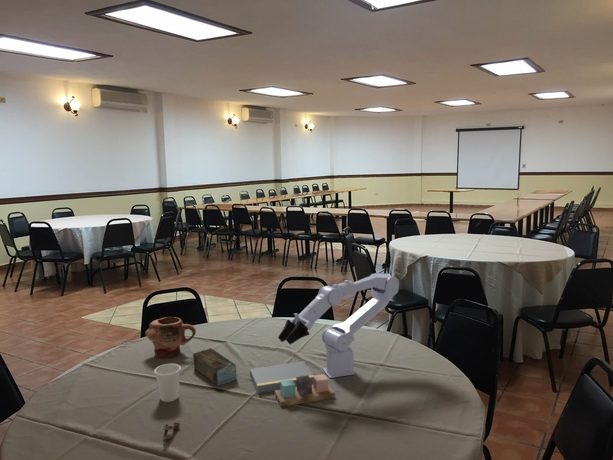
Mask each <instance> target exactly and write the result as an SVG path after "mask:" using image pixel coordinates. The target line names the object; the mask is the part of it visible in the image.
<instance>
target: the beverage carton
mask: <svg viewBox="0 0 613 460" xmlns="http://www.w3.org/2000/svg"><path fill="white" fill-rule="evenodd" d="M192 357H193V358H192V359H193V367H194V369H196V370H197V372H199V373H200V374H202V376H205V378H208V379H209V381H211V382H212V383H214V384H216V385H217V386H221V385H223V384H228V383H230V382H233V381H235V380H237V378H238V377H237V365H236V364H235V363H234V362H232V361H231V360H230V359H228V358H226V357H225V356H224V355H222V354H221V353H219V352H218V351H216V350H215V349H213V348H211V347H210V348H208V349H204V350H200V351H199V352H193V354H192Z"/></svg>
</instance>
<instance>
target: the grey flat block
mask: <svg viewBox="0 0 613 460" xmlns="http://www.w3.org/2000/svg"><path fill="white" fill-rule="evenodd" d="M306 375H308V376H309V377H310V378H311V380H312V384H313V376H315V375H314V374H313V371H311V370H310V367H308V365H307V364H306V362H305V361H303V360H302V361H296V362H295V361H294V362H287V363H283V364H282V363H281V364H274V365H269V366H261V367H260V366H259V367H256V368H254V367H253V368H250V369H249V376H250V379H251V381H252V383H253V385H254V388H255V390H256V392H257V394H262V393H263V394H264V393H269V392H275V390H280V381H283V380H290V379H292V380H293V381H294V383H295V387H297V379H296V377H300V376H306Z"/></svg>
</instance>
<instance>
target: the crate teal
mask: <svg viewBox="0 0 613 460" xmlns="http://www.w3.org/2000/svg"><path fill="white" fill-rule="evenodd" d="M280 393H281V395H282V396H283V398H288V397H294V396H296V390H295V383H294V381H293V380H292V379H290V380H283V381H280Z"/></svg>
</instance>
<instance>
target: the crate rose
mask: <svg viewBox="0 0 613 460" xmlns="http://www.w3.org/2000/svg"><path fill="white" fill-rule="evenodd" d="M328 385H329V377H328V376H326V373H323V374H322V373H321V374H316V375H314V376H313V388H314V389H315V391H316V392H317V393H318V392H324V391H328Z"/></svg>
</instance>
